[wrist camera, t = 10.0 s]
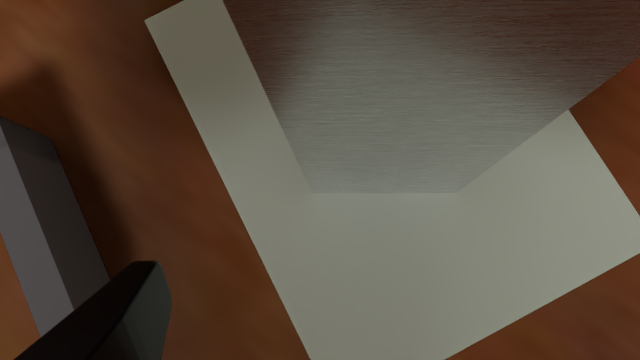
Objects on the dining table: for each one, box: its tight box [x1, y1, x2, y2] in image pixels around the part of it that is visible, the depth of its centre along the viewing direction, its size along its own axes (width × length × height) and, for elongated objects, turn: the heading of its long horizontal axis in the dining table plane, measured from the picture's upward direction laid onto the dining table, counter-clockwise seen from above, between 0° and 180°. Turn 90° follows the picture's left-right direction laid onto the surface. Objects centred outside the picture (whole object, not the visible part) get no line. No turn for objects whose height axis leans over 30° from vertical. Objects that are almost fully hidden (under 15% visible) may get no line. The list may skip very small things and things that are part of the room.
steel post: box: [223, 0, 640, 193], centre depth 11 cm, size 5×5×14 cm
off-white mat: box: [144, 0, 640, 360], centre depth 18 cm, size 16×12×1 cm
